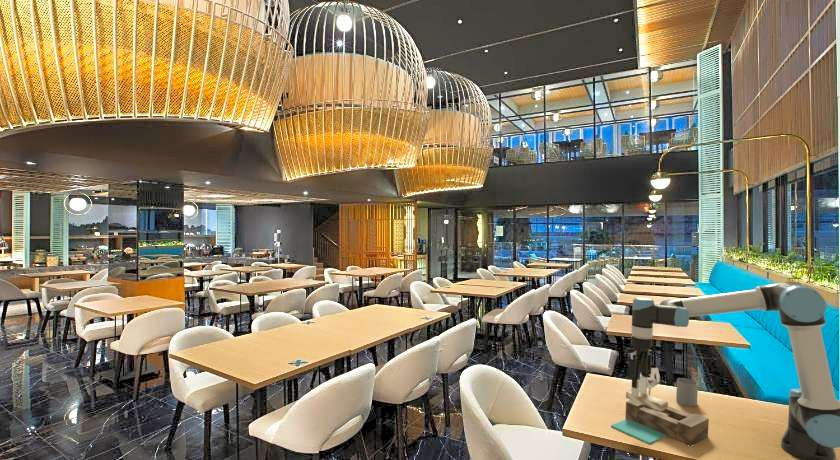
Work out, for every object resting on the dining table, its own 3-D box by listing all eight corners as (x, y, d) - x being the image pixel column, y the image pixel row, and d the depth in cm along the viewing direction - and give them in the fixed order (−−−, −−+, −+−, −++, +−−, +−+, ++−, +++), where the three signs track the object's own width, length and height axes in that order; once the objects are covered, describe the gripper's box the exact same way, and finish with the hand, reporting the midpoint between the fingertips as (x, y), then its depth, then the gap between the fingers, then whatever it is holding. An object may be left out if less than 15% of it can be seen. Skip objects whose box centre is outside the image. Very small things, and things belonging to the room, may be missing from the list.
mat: (666, 436, 170) (666, 434, 170) (649, 444, 163) (649, 442, 163) (627, 419, 183) (627, 418, 183) (611, 426, 176) (611, 425, 176)
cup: (672, 400, 205) (673, 379, 204) (683, 397, 208) (684, 377, 208) (689, 407, 197) (690, 386, 197) (701, 404, 200) (701, 383, 200)
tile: (667, 408, 166) (667, 401, 166) (660, 411, 163) (661, 404, 163) (632, 395, 177) (633, 389, 177) (625, 397, 175) (626, 391, 175)
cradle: (707, 437, 170) (708, 418, 169) (690, 446, 162) (691, 427, 162) (643, 411, 191) (644, 395, 191) (625, 418, 184) (626, 401, 184)
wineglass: (641, 399, 205) (642, 361, 205) (660, 404, 200) (662, 365, 200) (637, 404, 199) (638, 366, 198) (657, 409, 194) (658, 370, 193)
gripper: (644, 331, 180) (642, 386, 181) (619, 337, 170) (617, 395, 171) (662, 336, 174) (660, 392, 174) (638, 342, 164) (635, 402, 165)
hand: (639, 393), depth 173 cm, fingers closed on tile, 5 cm apart
